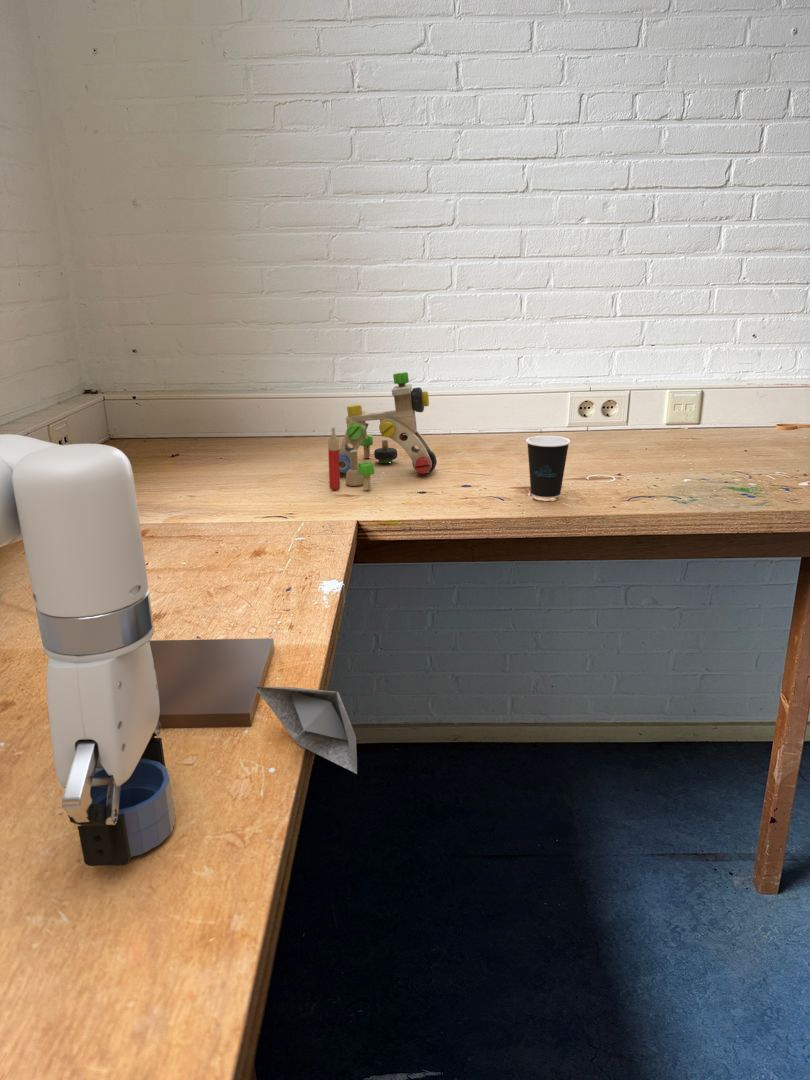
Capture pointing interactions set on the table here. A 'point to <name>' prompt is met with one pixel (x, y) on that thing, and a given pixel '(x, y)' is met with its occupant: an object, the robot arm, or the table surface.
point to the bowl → (143, 804)
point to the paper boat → (315, 722)
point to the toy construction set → (390, 426)
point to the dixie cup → (547, 465)
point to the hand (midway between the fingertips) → (129, 818)
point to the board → (210, 680)
